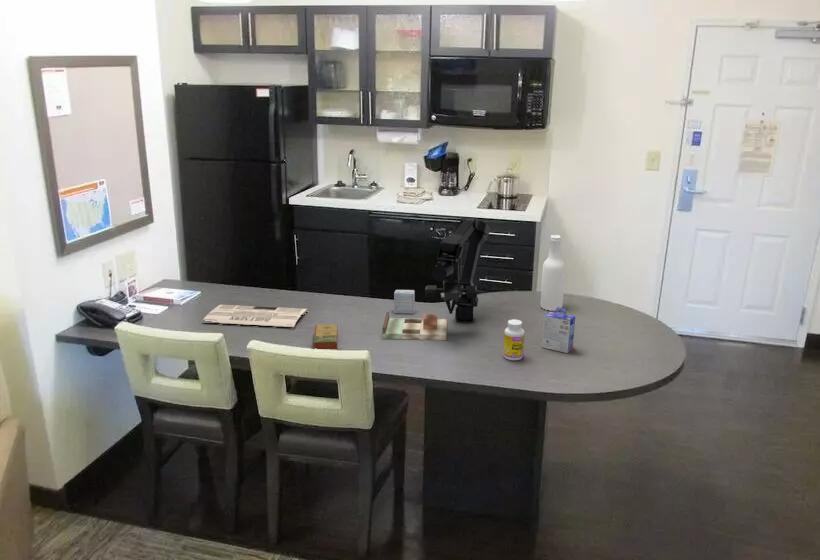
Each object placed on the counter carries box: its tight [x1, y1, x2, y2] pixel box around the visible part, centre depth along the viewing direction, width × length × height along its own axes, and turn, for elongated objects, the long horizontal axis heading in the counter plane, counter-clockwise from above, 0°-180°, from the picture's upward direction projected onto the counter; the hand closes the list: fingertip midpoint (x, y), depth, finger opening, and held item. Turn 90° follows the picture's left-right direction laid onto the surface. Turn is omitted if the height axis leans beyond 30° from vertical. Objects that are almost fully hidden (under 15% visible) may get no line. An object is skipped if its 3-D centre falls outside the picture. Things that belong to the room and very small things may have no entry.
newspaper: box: [202, 304, 309, 327], centre depth 262 cm, size 37×19×3 cm, turn 81°
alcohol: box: [540, 234, 566, 312], centre depth 266 cm, size 9×9×30 cm
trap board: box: [382, 311, 448, 341], centre depth 249 cm, size 23×15×4 cm, turn 86°
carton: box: [313, 323, 339, 349], centre depth 240 cm, size 8×16×4 cm, turn 5°
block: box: [422, 313, 438, 329], centre depth 248 cm, size 5×5×4 cm
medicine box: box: [393, 289, 416, 315], centre depth 267 cm, size 8×4×9 cm, turn 84°
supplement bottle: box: [503, 318, 525, 361], centre depth 226 cm, size 7×7×13 cm
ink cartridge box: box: [541, 307, 576, 354], centre depth 232 cm, size 10×6×14 cm, turn 58°
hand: (450, 313), depth 246 cm, fingers closed
